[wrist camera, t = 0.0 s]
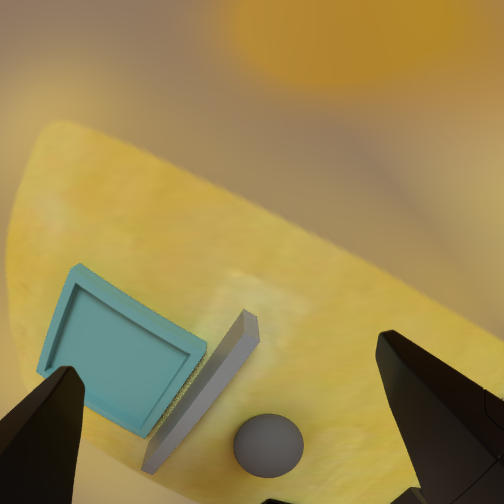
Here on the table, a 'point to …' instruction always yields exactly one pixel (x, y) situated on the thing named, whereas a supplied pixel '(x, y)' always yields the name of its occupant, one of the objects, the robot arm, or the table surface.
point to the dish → (118, 351)
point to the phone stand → (411, 497)
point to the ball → (268, 446)
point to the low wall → (203, 389)
